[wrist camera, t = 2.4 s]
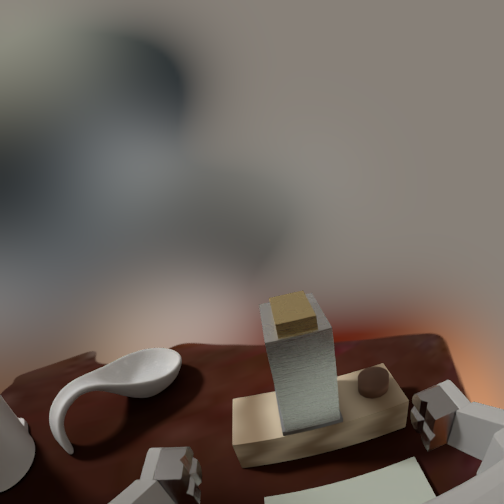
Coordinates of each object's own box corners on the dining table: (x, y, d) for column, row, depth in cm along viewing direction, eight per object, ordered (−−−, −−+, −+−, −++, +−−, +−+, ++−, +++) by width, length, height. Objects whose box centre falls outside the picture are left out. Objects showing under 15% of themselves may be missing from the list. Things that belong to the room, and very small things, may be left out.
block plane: (242, 468, 26) (228, 434, 25) (241, 423, 33) (229, 388, 31) (405, 426, 26) (410, 388, 24) (382, 388, 33) (383, 351, 31)
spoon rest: (153, 358, 52) (139, 322, 50) (203, 372, 45) (189, 332, 43) (49, 433, 33) (24, 395, 31) (86, 471, 26) (55, 430, 24)
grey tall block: (285, 432, 25) (261, 328, 22) (277, 386, 32) (256, 292, 29) (340, 419, 25) (330, 313, 22) (323, 376, 32) (309, 281, 29)
